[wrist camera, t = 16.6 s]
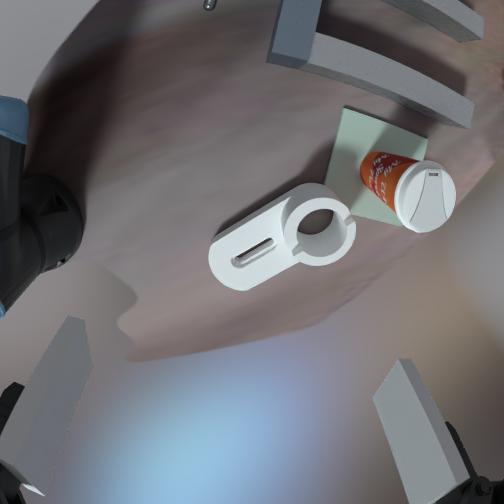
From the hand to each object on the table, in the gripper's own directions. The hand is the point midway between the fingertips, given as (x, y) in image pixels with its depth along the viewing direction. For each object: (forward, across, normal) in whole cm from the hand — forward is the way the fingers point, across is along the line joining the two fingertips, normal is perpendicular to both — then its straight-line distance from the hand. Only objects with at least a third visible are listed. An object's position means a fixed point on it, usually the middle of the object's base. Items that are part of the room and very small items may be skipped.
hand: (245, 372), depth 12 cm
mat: (+32, +18, +6) cm, 37 cm away
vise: (+32, +10, +26) cm, 42 cm away
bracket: (+31, +6, -6) cm, 33 cm away
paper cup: (+31, +18, +6) cm, 37 cm away
